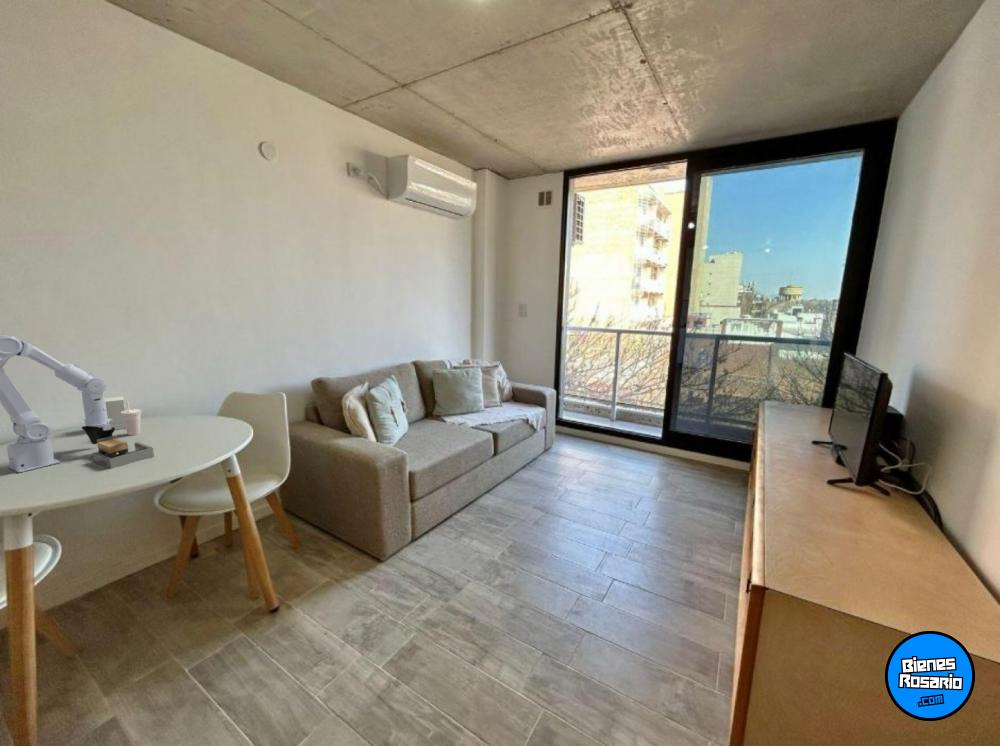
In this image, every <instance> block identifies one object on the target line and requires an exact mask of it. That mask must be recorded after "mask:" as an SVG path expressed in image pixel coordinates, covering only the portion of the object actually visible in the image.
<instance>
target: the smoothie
mask: <svg viewBox="0 0 1000 746" xmlns="http://www.w3.org/2000/svg"><path fill="white" fill-rule="evenodd" d="M126 404H127V409H125V411H122V412H121V415H122V418H123V421H124V424H125V427H126V428H125V430H126V433H127V435H128V436H136V435H140V434H141V414H142V409H140V408H139V409H138V408H136V409H135V408H134V409H130V402H129V400H127V401H126Z"/></svg>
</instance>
